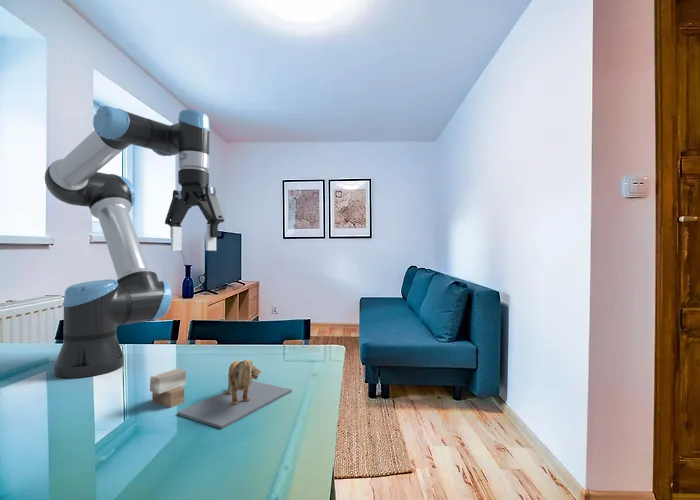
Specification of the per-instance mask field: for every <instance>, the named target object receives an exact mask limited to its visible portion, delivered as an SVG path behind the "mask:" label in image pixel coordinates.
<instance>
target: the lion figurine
mask: <svg viewBox="0 0 700 500" xmlns="http://www.w3.org/2000/svg"><path fill="white" fill-rule="evenodd" d="M261 373H262V370H260V369H258V368H257V367H256V366H255V365H254V364H253V360H251V359H244V360H242V361H239V360H235V361H233V362H231V363H230V366H229V368H228V378H227V379H228V383H227V384H228V387H227V390H226V391H227V392H226V391H225V392H226V394H231V392H232V402H231V405H236V404H237V401H238V400H237V395H236V393H237V390H240V391H241V390H244V391H243V400H244V401H245V402H248V401H249V400H250V398H248V397H247V394H248V389H249V385H250V384H252V381H253V380H254V381H255V380H256V381H257V380H258V378H259V376H260V375H261Z"/></svg>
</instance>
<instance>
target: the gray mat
mask: <svg viewBox="0 0 700 500" xmlns="http://www.w3.org/2000/svg"><path fill="white" fill-rule="evenodd" d="M243 391H244V390H241V391H240V390H237V393H236V395H237V400H238V401H237V404H236V405H231V402H232V392H231V394H226V392H227V390H225V391H223V392H221V393H219V394H217V395H214V396H211V397H209V398H207V399H205V400H202V401H199V402H197V403H196V404H193V405H190V406H188V407H186V408H183V409H181V410H178V411H177V413H176V414H177V415H178V416H180V417H184V418H187V419H190V420H194V421H196V422H200V423H202V424H205V425H208V426H212V427H215V428H218V429H221V430H222V429H225V428H226V427H228V426H230V425H232V424H234V423H235V422H238V421H239V420H242V419H243V418H245V417H247V416H249V415H251V414H252V413H254V412H256V411H258V410H260V409H263V408H264V407H266V406H268V405H269V404H271V403H273V402H275V401H276V400H279V399H280V398H283V397H284V396H286V395H289V394H290V393H293V392H292V391H293V389H291V388H288V387H282V386H278V385H273V384H270V383H265V382H261V381H257V380H256V381H255V380H252V384H250V385H249V389H248V394H247V397H248V398H250V400H249V401H248V402H245V401H244V400H243Z"/></svg>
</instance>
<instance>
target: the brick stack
mask: <svg viewBox="0 0 700 500" xmlns="http://www.w3.org/2000/svg"><path fill="white" fill-rule="evenodd" d="M186 374H187V370H185V369H180V368H174V369H170V370H167V371H163V372H160V373H157V374H154V375H151V376H150V378H149V391H150V392H151V393H152V395H151V397H152V400H151V402H152V403H154V404H155V403H156V404H158V405H162V406H165V407H168V408H174V407H176V406H179V405H181V404H183V403H185V388H184V387H183V386H186V385H187V384H186V383H187V382H186V381H187V375H186Z"/></svg>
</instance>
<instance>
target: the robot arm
mask: <svg viewBox="0 0 700 500" xmlns="http://www.w3.org/2000/svg"><path fill="white" fill-rule="evenodd" d="M178 113H179V114H178V118H177V120H178V122H177V123H174V124H170V125H169V124H166V123H163V122H160V121H157V120H154V119H150V118H148V117H144V116H141V115H138V114H135V113H132V112H130V111H126V110H124V109H121V108H116V107H112V106H108V105H102V106H99V107H98V109H97V110H96V111H95V114H94V117H93V120H92V121H93V125H92V126H93V130H92V132H90V133H89V135H87V136H86V137H85V138H84V139H83V140H82V141H81V142H79V144H78V145H77V146H75V147H74V149H72V150H71V151H70V152H69V153H68V154H67V155H66V156H65V157H64V158H58V159H56V160H54V161H53V162H52V163H50V164H49V166H48V167H47V169H46V170H45V172H44V182H45V186H46V188H47V190H48V191H49V193H50V194H51V195H52V196H53V197H54V198H56V199H57V200H58V201H61V202H63V203H65V204H68V205H72V206H78V207H88V208H89V211H90V213H91V215H92V216H93V217H94V218H96V219H98V221H99V224H100V227H101V230H102V233H103V237H104V240H105V243H106V245H107V249H108V252H109V255H110V258H111V261H112V262H111V263H112V264H113V268H114V271H115V273H116V277H117V278H116V279H112V278H111V279H100V280H99V279H98V280H92V281H91V280H90V281H85V282H84V281H83V282H79V283H75V284H72V285H69V286H68V287H66V289H65V291H64V298H63V303H62V307H63V331H62V332H63V342H62V346H61V348H60V351H59V353H58V356H57V357H56V358H57V359H56V361H55V363H54V366H53V369H54V370H53V375H54V374H55V375H56V376H55V375H54V376H55V377H57V376H59V377H58V378H63V377H65V379H66V378H67V379H68V378H70V379H71V378H73V379H74V378H85V377H92V376H97V375H98V376H99V375H102V374H107V373H110V372H113V371H116V370H118V369H121V368H122V367H124V363H125V362H124V361H125V357H124V352H123V351H122V347H121V346H120V343H119V340H118V335H117V331H118V329H117V328H118V326H124V325H130V324H137V323H145V322H153V321H155V320H159V319H162V318H164V317H165V316H166V315H167V314H168V312H169V310H170V309H171V306H172V305H171V304H172V300H173V292H172V288H171V286H170V284H169V283H168V282H166V281H164V280H159V277H158V275H157V273H156V272H155V271H153V270H152V269H149V266H148V263H147V261H146V258H145V254H144V252H143V250H142V246H141V244H140V241H139V238H138V234H137V233H136V230H135V227H134V224H133V221H132V218H131V216H130V211H131V210H132V208H133V206H134V204H135V202H136V197H135V195H136V192H135V188H134V185H133V184H132V182H131V180H129V179H128V178H126V177H124V176H120V175H117V174H114V173H105V172H99V171H100V170H101V169H102V168H103V167H104V166H105V165H107V164H108V163H109V162H111V161H112V160H113V159H114V158H115V157H116V156H118V155H119V154H120V153H122V151H124V150H125V149H127V148H128V147H130V145H133V146H137V147H140V148H145V149H149V150H151V151H153V152H154V153H155V154H157V155H158V156H162V157H172V156H175V155H176V156H177V155H178V168H179V170H178V172H177V173H178V175H177V176H178V177H177V178H178V179H177V182H178V185H180V186H181V190H177V189H174V190H173V191H172V199H171V201H170V205H169V208H168V211H167V214H166V216H165V220H164V224H165V225H168V226H169V227H170V251H175V252H176V251H182V249H183V248H182V247H183V246H182V245H183V244H182V243H183V241H182V239H183V236H182V234H183V227H182V225H181V224H182V223H183V221H184V219H185V217H186V215H187V214H188V211H189V210H190V209H192V207H196V206H197V207H198V208H199V210H200V211H201V213H202V215H203V217H204V218H205V219H206V221H207V222H206V225H205V251H209V252H211V251H215V252H217V238H218V236H219V235H218V234H219V233H218V228H219V227H218V226H219V224H221V223H224V222H225V217H224V215H223V212H222V210H221V207H220V202H219V201H218V197H217V192H216V190H217V189H216V187H215V186H214V187H213V186H209V185H210V173H209V171H210V138H211V137H210V132H211V129H210V119H209V118H210V117H209V116H208V115H207V113H204V112H203V111H200V110H196V109H188V108H187V109H182V110H180V112H178Z"/></svg>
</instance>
